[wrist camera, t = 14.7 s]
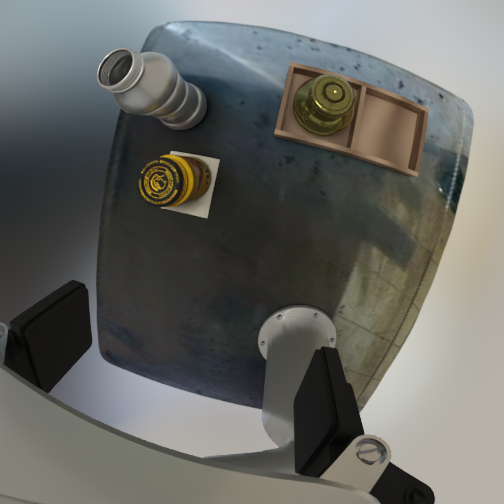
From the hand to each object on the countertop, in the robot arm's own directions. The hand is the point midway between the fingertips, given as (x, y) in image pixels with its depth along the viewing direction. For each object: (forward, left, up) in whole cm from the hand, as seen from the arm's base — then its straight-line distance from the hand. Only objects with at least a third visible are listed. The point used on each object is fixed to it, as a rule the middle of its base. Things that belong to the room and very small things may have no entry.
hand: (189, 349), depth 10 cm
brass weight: (+7, -15, -30) cm, 34 cm away
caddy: (+4, -19, -30) cm, 36 cm away
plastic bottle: (+18, -1, -31) cm, 35 cm away
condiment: (+9, +5, -31) cm, 32 cm away
